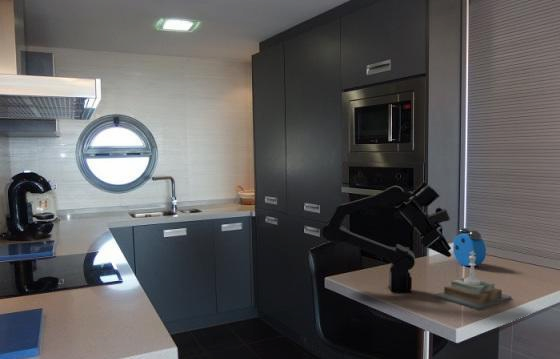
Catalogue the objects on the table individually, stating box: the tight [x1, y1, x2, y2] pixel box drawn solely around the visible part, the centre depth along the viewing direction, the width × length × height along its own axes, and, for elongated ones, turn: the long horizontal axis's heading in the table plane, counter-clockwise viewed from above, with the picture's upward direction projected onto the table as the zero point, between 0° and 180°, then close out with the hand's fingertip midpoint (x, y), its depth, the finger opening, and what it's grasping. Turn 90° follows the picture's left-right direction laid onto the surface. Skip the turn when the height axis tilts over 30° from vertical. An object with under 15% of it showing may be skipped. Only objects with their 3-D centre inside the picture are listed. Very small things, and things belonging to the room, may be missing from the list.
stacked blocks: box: [443, 276, 503, 304], centre depth 138 cm, size 12×12×4 cm
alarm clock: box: [452, 227, 487, 268], centre depth 179 cm, size 13×6×15 cm, turn 15°
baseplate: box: [433, 291, 512, 311], centre depth 138 cm, size 18×15×1 cm
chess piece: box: [464, 251, 481, 284], centre depth 138 cm, size 5×5×10 cm
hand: (450, 252), depth 141 cm, fingers open, 9 cm apart
